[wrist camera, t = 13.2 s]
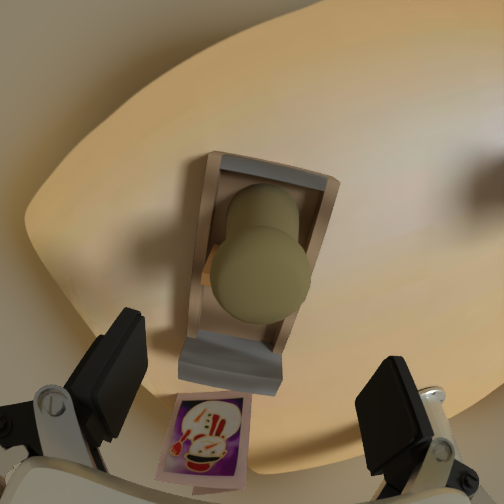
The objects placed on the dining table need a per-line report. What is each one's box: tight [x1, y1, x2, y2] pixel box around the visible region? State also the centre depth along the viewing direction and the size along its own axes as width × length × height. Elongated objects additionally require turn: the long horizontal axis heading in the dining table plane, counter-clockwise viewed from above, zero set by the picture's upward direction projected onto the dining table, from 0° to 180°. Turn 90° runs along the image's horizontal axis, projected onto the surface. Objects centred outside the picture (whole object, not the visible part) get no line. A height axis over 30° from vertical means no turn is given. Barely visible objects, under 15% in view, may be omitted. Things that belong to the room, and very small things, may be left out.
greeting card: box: [154, 391, 252, 495], centre depth 29 cm, size 11×7×15 cm, turn 105°
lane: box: [178, 151, 340, 396], centre depth 23 cm, size 21×10×6 cm, turn 169°
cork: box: [209, 183, 311, 325], centre depth 17 cm, size 6×6×11 cm
